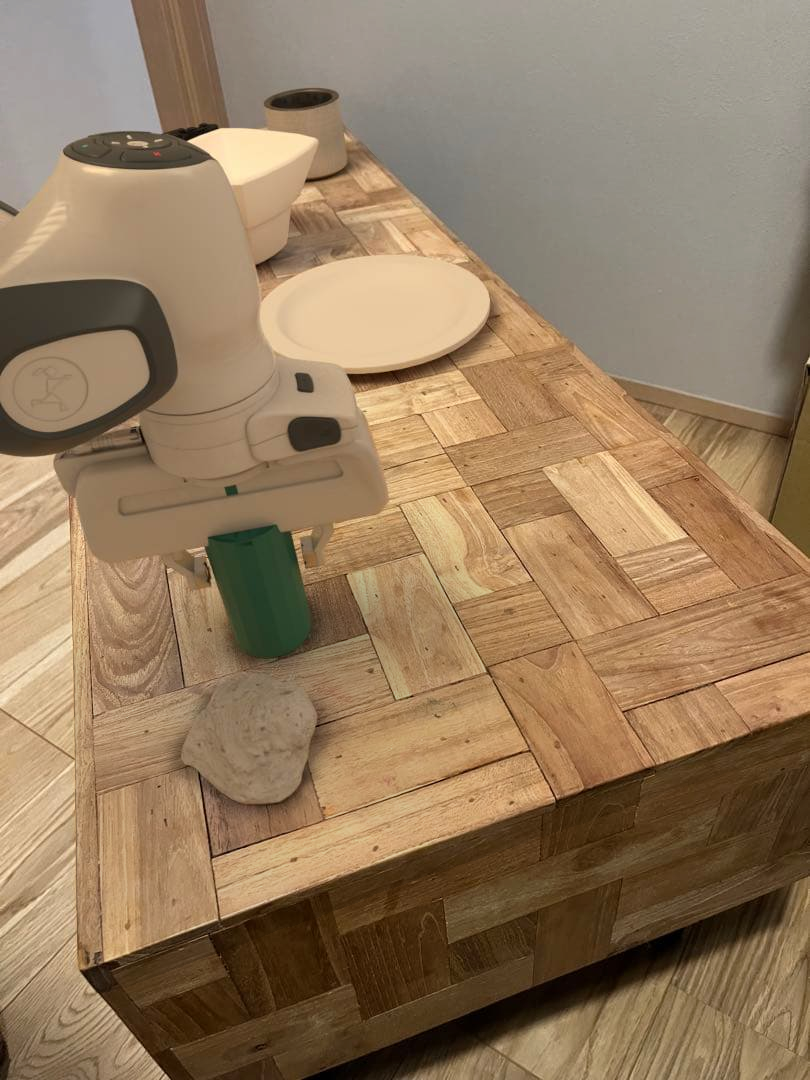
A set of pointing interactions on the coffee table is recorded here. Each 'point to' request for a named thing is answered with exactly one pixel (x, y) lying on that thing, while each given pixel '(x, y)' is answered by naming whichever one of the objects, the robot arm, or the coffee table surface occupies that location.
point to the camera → (193, 131)
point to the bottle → (261, 588)
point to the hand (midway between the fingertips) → (258, 572)
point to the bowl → (262, 179)
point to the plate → (375, 312)
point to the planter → (311, 125)
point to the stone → (253, 739)
